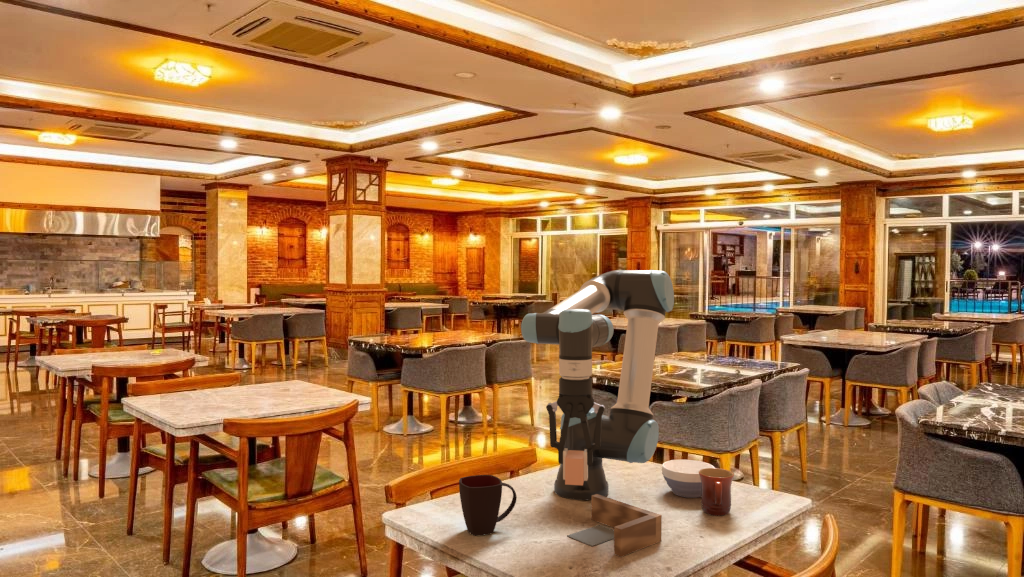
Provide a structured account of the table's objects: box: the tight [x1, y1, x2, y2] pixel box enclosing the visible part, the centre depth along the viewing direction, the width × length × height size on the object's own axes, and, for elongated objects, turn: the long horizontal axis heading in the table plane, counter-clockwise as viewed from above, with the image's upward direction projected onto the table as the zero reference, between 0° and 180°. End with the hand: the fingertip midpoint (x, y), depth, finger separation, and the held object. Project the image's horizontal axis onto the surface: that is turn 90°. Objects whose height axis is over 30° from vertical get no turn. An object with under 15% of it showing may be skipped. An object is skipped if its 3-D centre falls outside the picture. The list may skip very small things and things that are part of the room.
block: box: [565, 450, 584, 485], centre depth 163 cm, size 7×4×6 cm, turn 170°
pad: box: [567, 524, 614, 547], centre depth 166 cm, size 8×11×1 cm
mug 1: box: [458, 474, 517, 536], centre depth 169 cm, size 10×14×12 cm
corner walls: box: [590, 494, 663, 558], centre depth 166 cm, size 20×14×6 cm
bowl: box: [661, 459, 716, 499], centre depth 198 cm, size 14×14×8 cm
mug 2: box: [699, 467, 735, 517], centre depth 180 cm, size 12×9×10 cm
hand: (575, 478), depth 163 cm, fingers closed on block, 4 cm apart
